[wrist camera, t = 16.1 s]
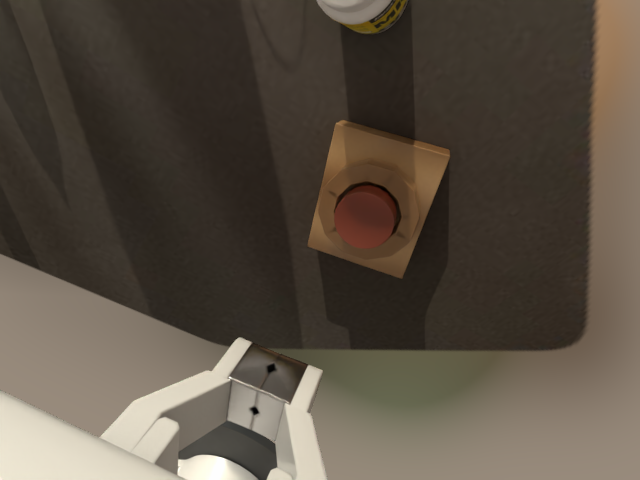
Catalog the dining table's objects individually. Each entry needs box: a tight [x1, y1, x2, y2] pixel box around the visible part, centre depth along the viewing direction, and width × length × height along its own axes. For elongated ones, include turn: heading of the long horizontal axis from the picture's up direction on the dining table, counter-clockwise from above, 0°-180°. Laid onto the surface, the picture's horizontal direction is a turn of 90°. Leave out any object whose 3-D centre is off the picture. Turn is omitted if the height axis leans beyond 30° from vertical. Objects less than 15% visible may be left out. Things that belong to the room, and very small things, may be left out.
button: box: [334, 185, 397, 249], centre depth 25 cm, size 4×4×2 cm
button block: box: [307, 120, 450, 279], centre depth 27 cm, size 10×8×4 cm
